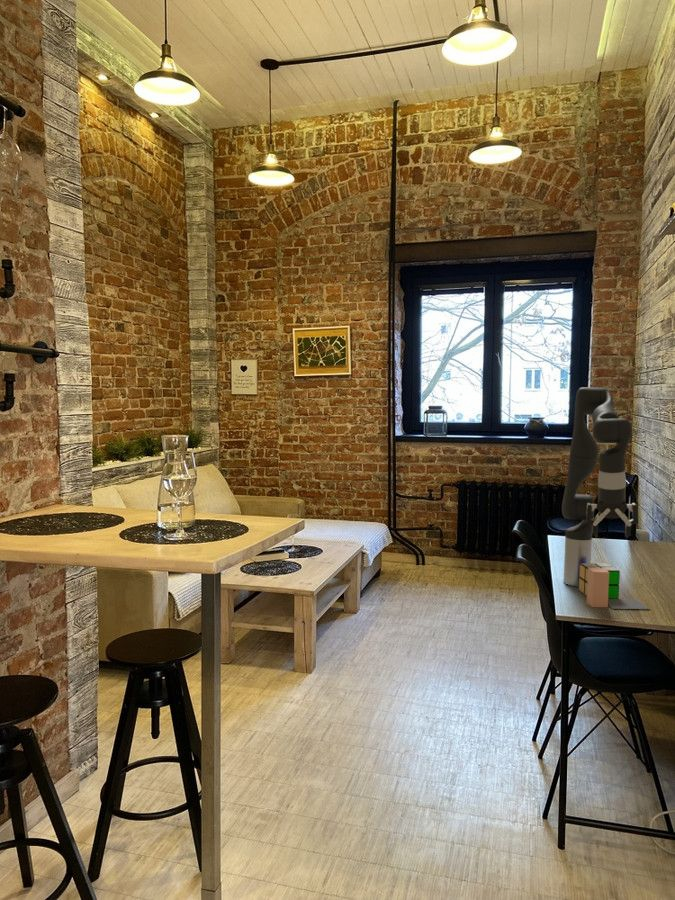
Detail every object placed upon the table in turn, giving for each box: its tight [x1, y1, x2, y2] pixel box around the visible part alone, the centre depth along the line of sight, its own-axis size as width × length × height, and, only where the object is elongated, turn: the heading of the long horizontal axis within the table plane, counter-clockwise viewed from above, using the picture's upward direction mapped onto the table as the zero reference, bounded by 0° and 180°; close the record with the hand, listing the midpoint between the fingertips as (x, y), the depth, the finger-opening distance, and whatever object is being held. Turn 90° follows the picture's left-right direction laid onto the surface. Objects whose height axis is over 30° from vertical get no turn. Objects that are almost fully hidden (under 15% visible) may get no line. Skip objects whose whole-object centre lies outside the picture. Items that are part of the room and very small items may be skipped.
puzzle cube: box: [578, 562, 621, 599], centre depth 224 cm, size 10×10×10 cm
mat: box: [608, 598, 651, 611], centre depth 214 cm, size 10×12×1 cm
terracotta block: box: [586, 568, 609, 608], centre depth 213 cm, size 5×5×12 cm
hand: (611, 536), depth 194 cm, fingers open, 8 cm apart
